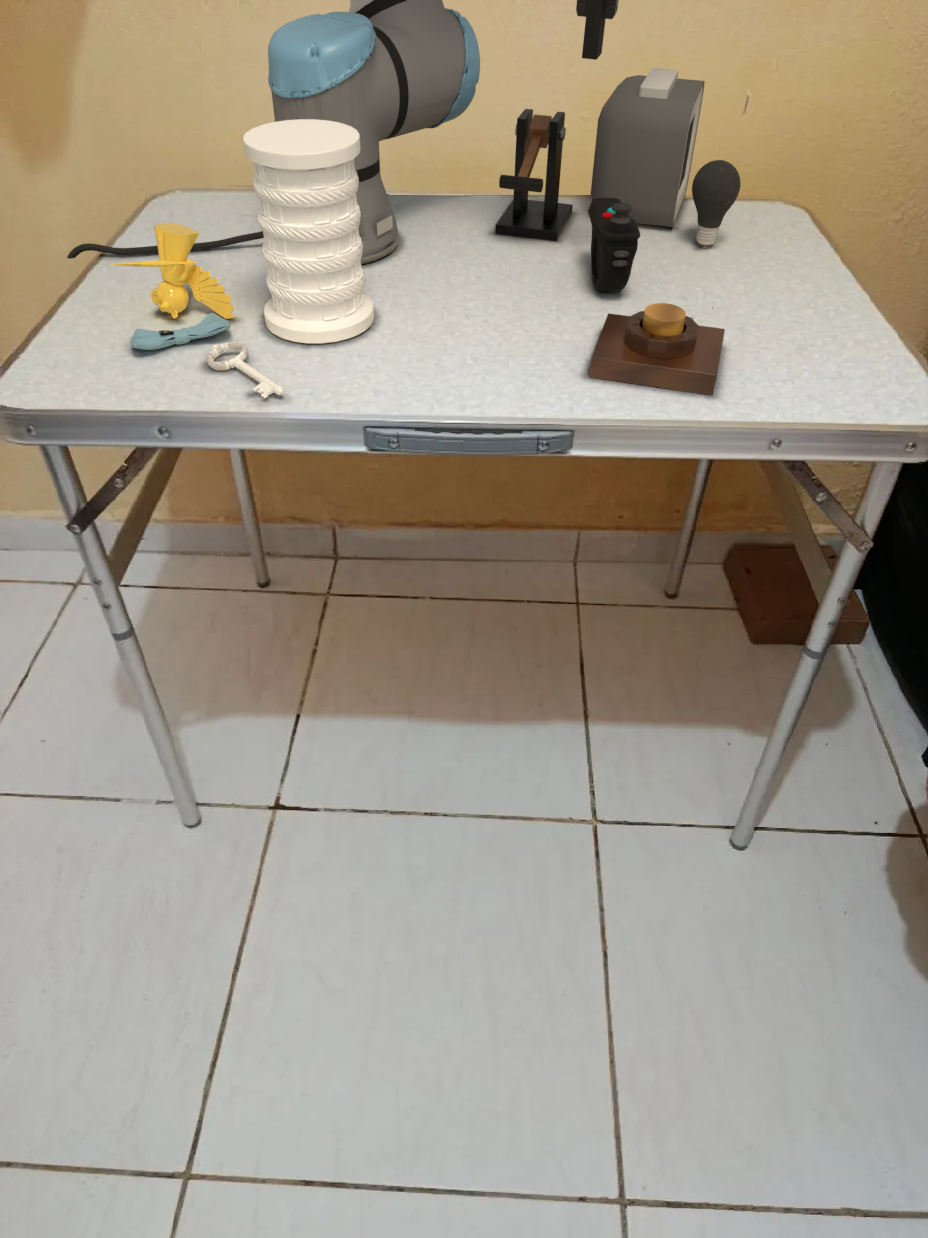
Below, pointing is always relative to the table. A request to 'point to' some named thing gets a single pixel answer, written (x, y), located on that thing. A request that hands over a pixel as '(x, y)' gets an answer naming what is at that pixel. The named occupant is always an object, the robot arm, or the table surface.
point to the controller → (612, 243)
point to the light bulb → (714, 197)
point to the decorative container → (310, 229)
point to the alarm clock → (648, 144)
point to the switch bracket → (547, 214)
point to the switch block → (658, 355)
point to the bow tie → (178, 334)
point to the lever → (530, 157)
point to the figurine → (182, 274)
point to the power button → (663, 319)
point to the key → (242, 367)
